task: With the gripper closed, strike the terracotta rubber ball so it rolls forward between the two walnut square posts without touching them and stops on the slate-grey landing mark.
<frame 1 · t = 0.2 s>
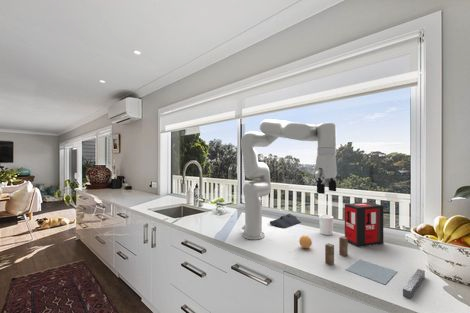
hand: (326, 192, 97), 31 cm above the worktop, tool pointing down, fingers open, 9 cm apart
dark slate chunk: (284, 224, 156), on the worktop
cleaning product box: (363, 242, 122), on the worktop
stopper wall: (414, 286, 81), on the worktop
landing mark: (371, 270, 92), on the worktop
ball: (305, 241, 115), on the worktop
white cup: (326, 233, 136), on the worktop
post 1: (329, 263, 98), on the worktop
post 2: (343, 254, 106), on the worktop
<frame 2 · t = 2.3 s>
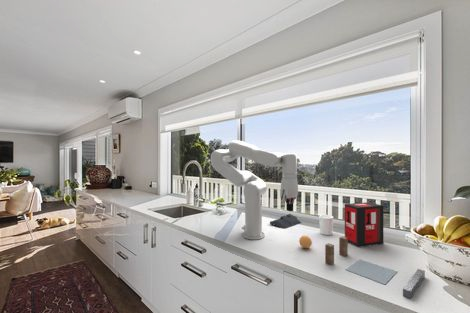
hand: (289, 210, 122), 17 cm above the worktop, tool pointing down, fingers closed
nothing on the worktop moved.
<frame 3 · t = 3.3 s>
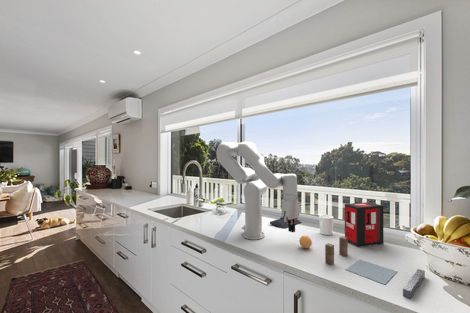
hand: (291, 231, 121), 6 cm above the worktop, tool pointing down, fingers closed
nothing on the worktop moved.
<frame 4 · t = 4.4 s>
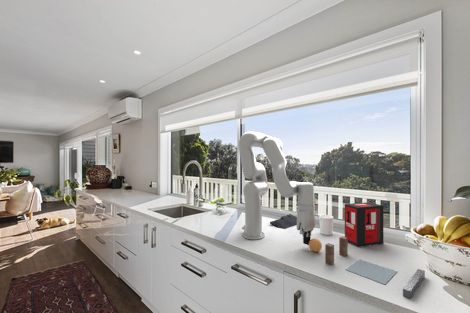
hand: (306, 243, 114), 2 cm above the worktop, tool pointing down, fingers closed
ball: (315, 245, 110), on the worktop
everything else where it was.
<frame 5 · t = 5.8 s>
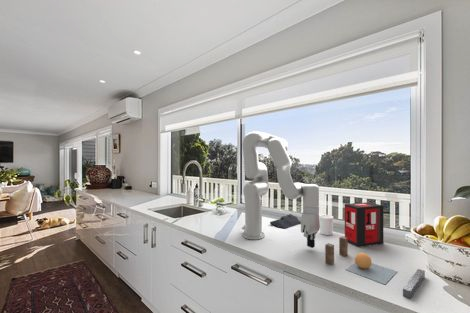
hand: (310, 246, 112), 2 cm above the worktop, tool pointing down, fingers closed
ball: (363, 260, 94), on the worktop
everything else where it was.
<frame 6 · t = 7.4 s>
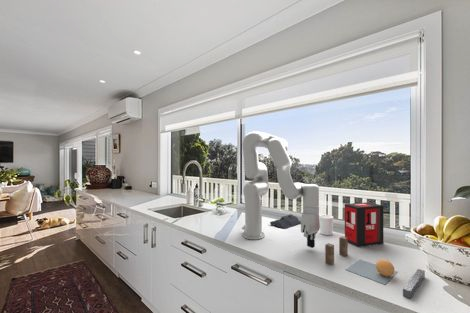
hand: (310, 246, 112), 2 cm above the worktop, tool pointing down, fingers closed
ball: (385, 267, 88), on the worktop
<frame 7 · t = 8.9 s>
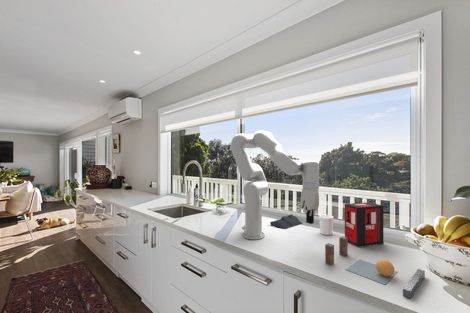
hand: (309, 222, 112), 13 cm above the worktop, tool pointing down, fingers closed
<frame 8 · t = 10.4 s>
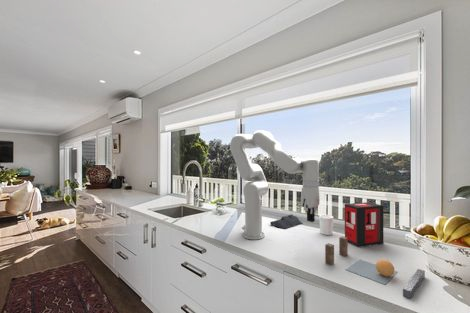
hand: (310, 221, 112), 14 cm above the worktop, tool pointing down, fingers closed
at the end: ball 4.8 cm from the landing mark (horizontally); ball never touched post 2; ball never touched post 1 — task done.
